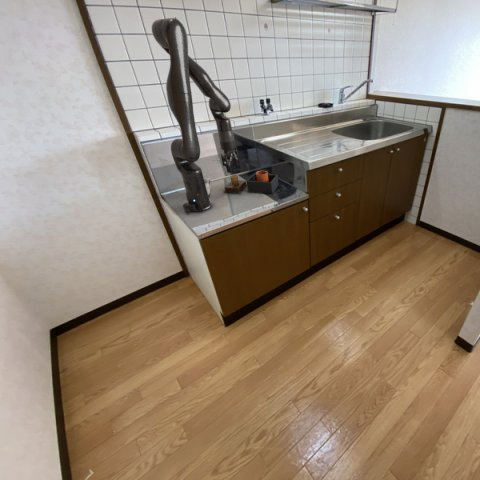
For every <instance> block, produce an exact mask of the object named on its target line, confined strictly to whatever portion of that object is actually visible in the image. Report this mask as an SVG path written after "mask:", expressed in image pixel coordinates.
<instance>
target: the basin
mask: <svg viewBox="0 0 480 480" xmlns="http://www.w3.org/2000/svg"><path fill="white" fill-rule="evenodd" d="M268 180H269V182H258V181H257V178H256V172H254V173H253V174H252V175H251V176H250V177H249V178H248V179H247V180H245V181H246V185H247V186H246V187H247V192H248V193H256V194H267V195H268V194H270V195H272V194H274V192H275V191H276V189H277V188H278V187H279V185H280V184H279V176H278V174H271V173H268Z"/></svg>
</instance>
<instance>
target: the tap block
mask: <svg viewBox="0 0 480 480" xmlns="http://www.w3.org/2000/svg"><path fill="white" fill-rule="evenodd" d="M238 181H239V184H238V185H232V183H231V181H230V182H228V183H227V185H225V186H224V192H225V193H229V194H240V193H241V192H242V191H243V190H244V189H245V188H246V187H247V182H246V181H247V180H242V179H241V180H240V179H238Z"/></svg>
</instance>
